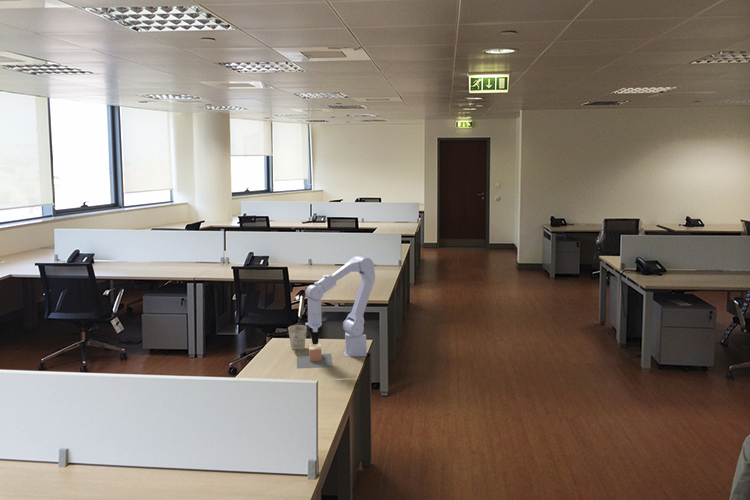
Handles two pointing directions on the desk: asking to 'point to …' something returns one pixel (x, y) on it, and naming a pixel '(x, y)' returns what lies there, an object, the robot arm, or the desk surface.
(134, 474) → the desk surface
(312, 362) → the mat
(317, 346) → the block
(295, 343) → the mug
